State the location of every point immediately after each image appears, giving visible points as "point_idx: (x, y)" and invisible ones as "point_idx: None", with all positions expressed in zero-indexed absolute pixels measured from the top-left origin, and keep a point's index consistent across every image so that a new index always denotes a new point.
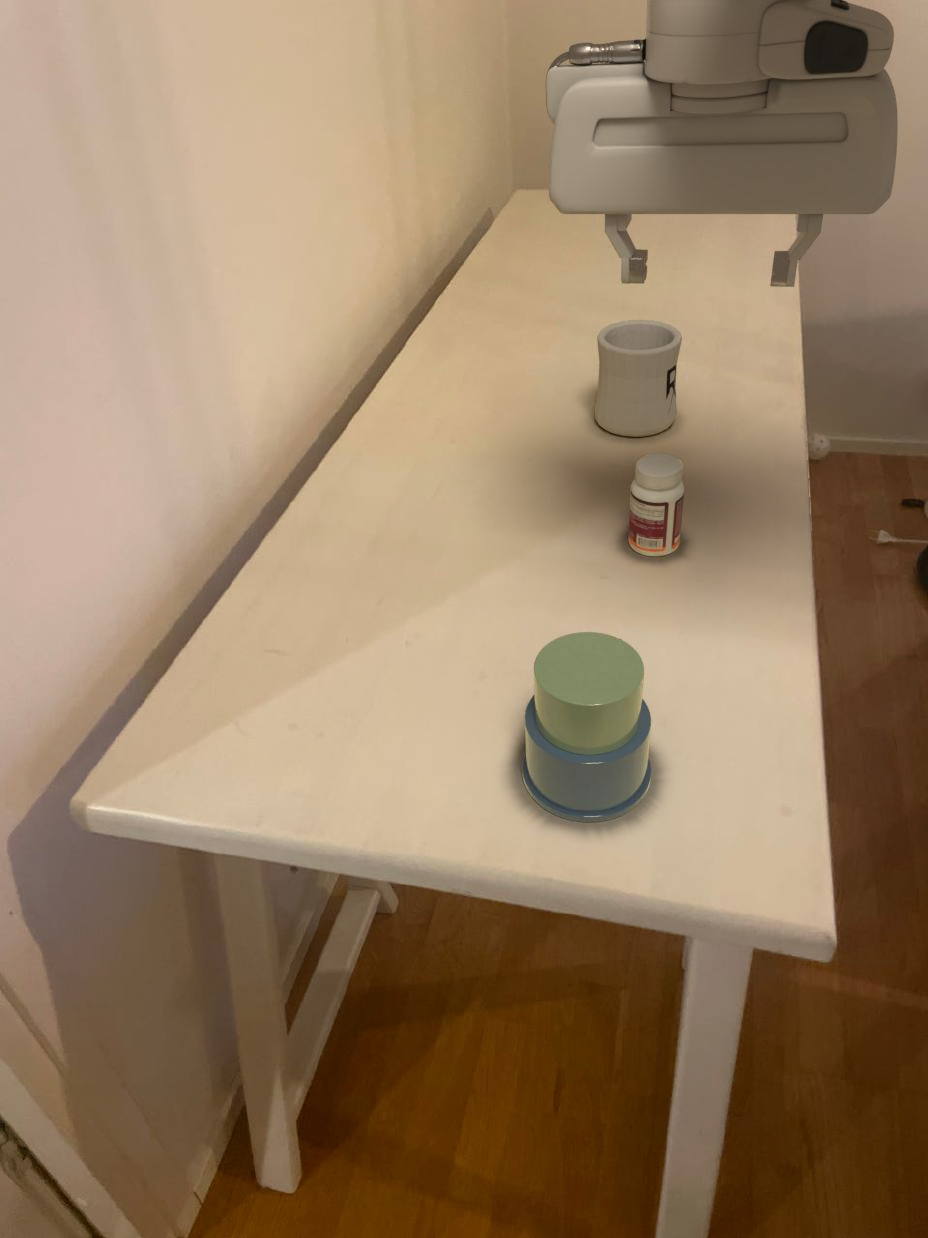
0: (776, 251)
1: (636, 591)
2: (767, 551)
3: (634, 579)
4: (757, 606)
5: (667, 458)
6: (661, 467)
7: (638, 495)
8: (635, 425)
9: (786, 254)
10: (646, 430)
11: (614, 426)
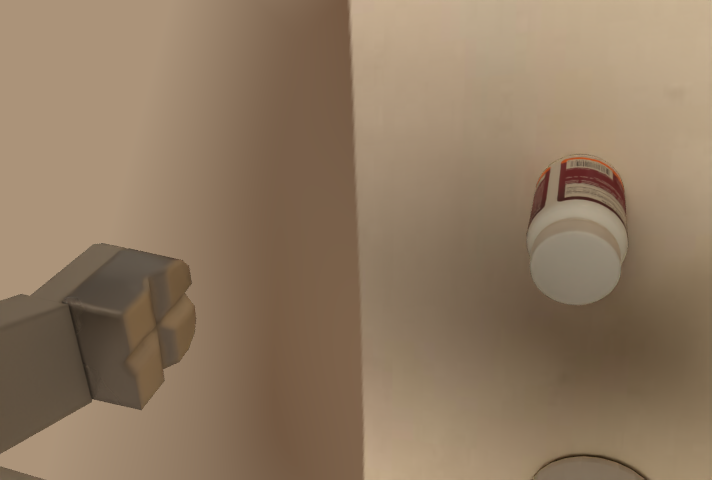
0: (134, 403)
1: (617, 57)
2: (402, 176)
3: (619, 91)
4: (418, 37)
5: (557, 287)
6: (570, 259)
7: (614, 218)
8: (595, 470)
9: (89, 365)
10: (576, 461)
11: (630, 476)
